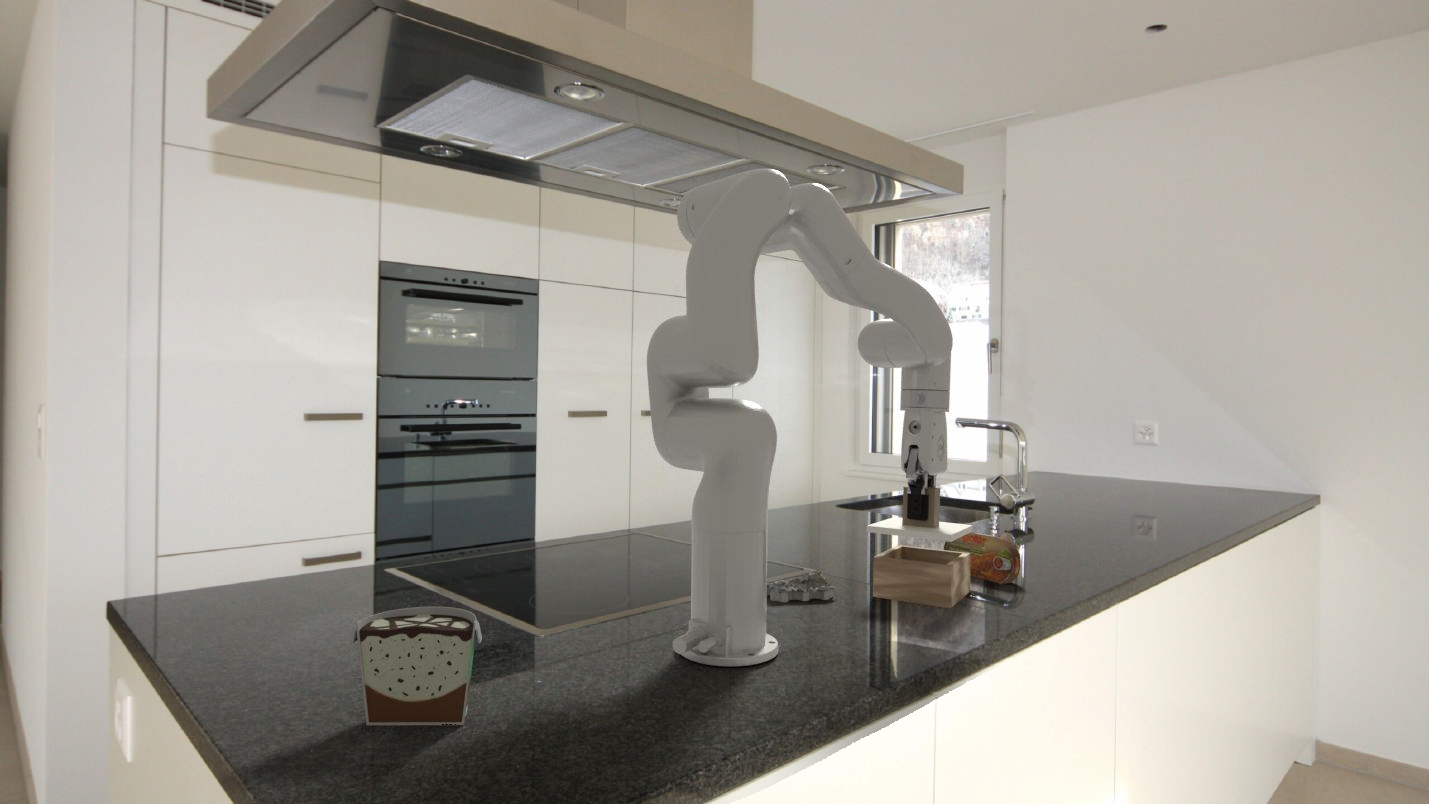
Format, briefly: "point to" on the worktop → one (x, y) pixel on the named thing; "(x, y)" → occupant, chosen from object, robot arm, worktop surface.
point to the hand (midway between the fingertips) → (920, 517)
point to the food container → (417, 665)
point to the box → (922, 575)
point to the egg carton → (801, 588)
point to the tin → (989, 556)
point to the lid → (922, 522)
